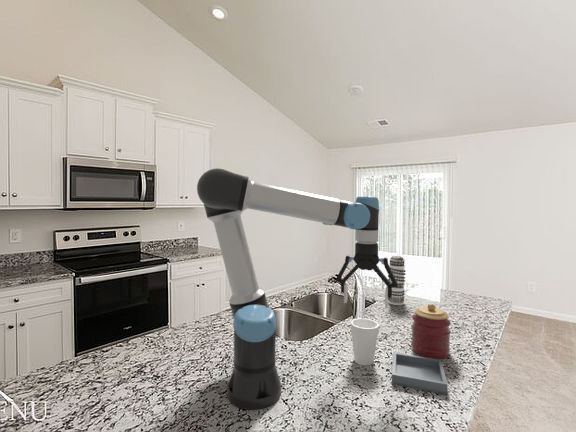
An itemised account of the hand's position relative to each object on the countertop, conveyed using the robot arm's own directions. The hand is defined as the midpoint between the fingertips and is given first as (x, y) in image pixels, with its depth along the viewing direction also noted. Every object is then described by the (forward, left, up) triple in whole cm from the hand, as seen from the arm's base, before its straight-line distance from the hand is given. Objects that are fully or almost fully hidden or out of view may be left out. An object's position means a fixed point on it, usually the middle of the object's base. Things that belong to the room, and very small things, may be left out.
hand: (365, 304), depth 110 cm
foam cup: (0, 0, -20) cm, 20 cm away
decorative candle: (+71, -9, -20) cm, 74 cm away
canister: (+16, -22, -20) cm, 34 cm away
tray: (-4, -17, -20) cm, 26 cm away
